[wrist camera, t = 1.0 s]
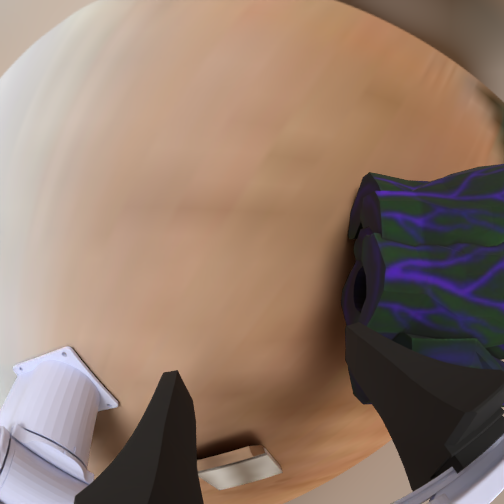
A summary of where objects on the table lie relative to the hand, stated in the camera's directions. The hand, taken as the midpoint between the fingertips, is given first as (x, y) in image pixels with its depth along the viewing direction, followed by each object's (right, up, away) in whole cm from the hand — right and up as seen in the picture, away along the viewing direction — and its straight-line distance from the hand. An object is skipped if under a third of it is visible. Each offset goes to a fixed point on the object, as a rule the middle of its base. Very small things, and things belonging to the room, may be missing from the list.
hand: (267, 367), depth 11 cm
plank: (-5, -18, +14) cm, 24 cm away
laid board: (-2, -25, +20) cm, 32 cm away
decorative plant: (+17, +5, +14) cm, 22 cm away
